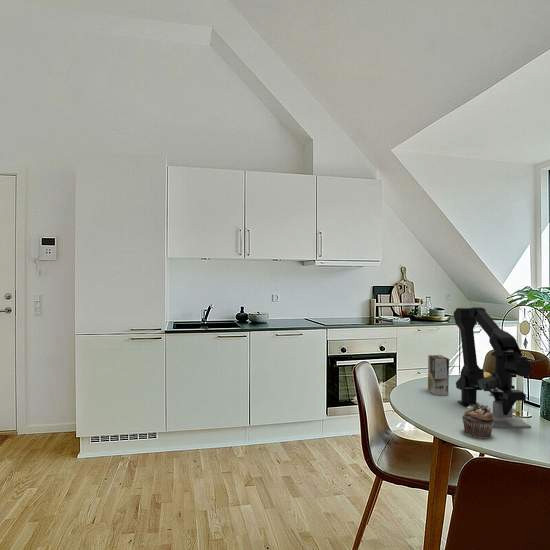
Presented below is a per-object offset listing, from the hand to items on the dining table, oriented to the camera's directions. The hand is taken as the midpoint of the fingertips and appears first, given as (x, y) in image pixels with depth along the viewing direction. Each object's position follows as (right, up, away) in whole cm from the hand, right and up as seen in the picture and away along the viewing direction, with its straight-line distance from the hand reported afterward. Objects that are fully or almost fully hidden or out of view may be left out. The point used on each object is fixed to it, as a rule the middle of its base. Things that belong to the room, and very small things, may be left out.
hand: (502, 413), depth 156 cm
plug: (0, -1, 0) cm, 1 cm away
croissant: (+19, -3, +51) cm, 54 cm away
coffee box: (-9, -3, +37) cm, 38 cm away
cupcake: (-15, -3, -12) cm, 20 cm away
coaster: (0, -3, 0) cm, 3 cm away
